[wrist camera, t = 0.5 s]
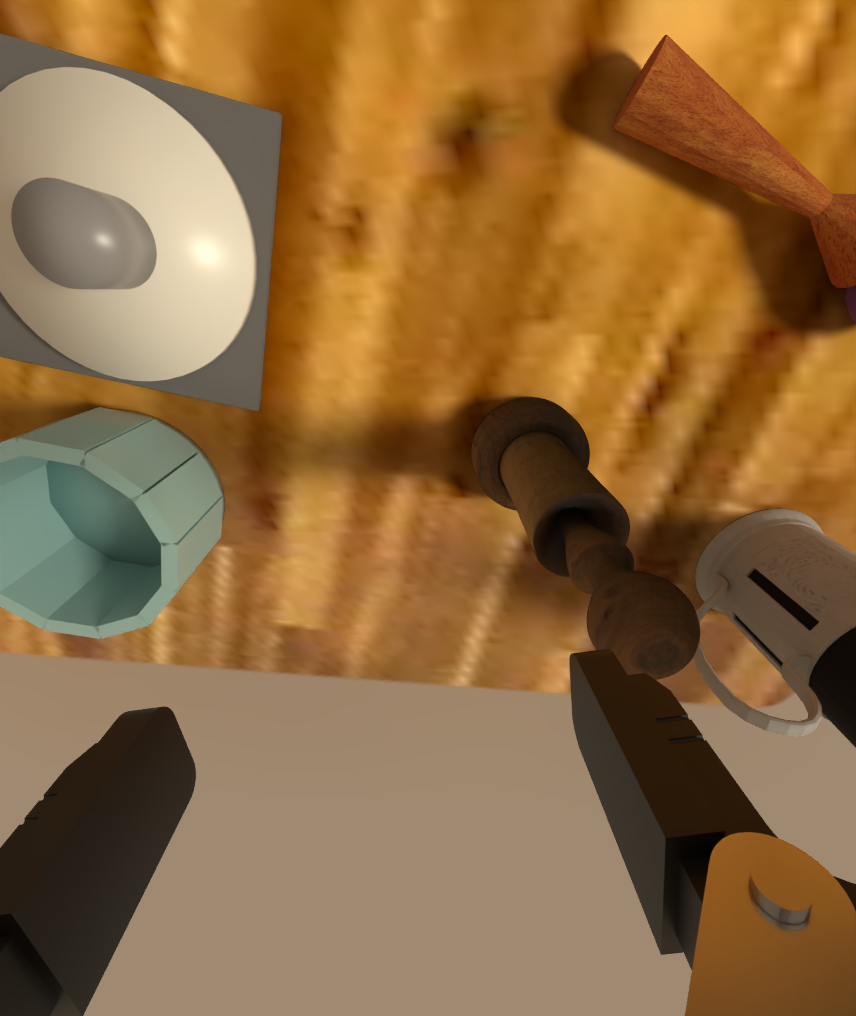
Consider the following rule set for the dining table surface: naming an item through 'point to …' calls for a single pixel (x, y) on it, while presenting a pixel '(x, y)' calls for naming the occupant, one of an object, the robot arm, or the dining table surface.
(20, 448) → the cup
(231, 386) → the mat
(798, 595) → the glass holder
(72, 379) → the dining table surface
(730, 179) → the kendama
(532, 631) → the dining table surface
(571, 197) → the dining table surface
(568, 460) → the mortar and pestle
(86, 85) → the lid
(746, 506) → the dining table surface
